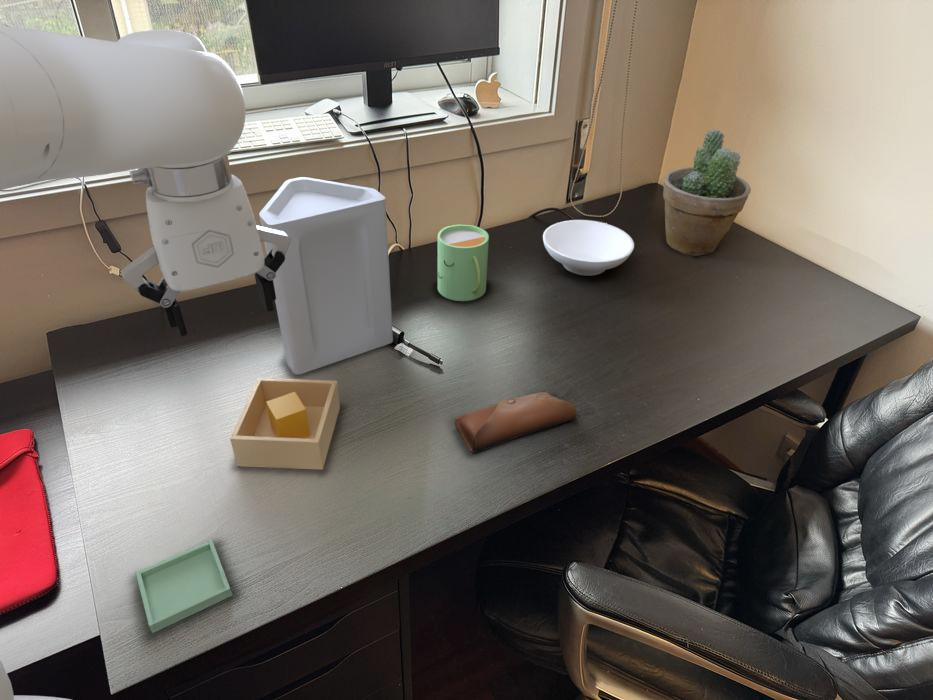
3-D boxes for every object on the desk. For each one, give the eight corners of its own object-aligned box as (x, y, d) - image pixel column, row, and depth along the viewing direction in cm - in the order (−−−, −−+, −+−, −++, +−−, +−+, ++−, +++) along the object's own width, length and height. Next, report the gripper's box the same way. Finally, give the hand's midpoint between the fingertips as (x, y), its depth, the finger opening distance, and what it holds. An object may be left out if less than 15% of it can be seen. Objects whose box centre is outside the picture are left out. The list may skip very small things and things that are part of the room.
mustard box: (281, 446, 94) (276, 419, 91) (271, 428, 97) (265, 401, 94) (310, 435, 96) (306, 409, 93) (299, 418, 99) (295, 391, 96)
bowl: (523, 256, 144) (525, 228, 140) (593, 240, 152) (597, 213, 147) (572, 298, 130) (576, 269, 126) (647, 278, 138) (653, 250, 134)
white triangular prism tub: (359, 303, 127) (347, 167, 110) (394, 341, 117) (387, 198, 100) (265, 332, 118) (237, 189, 101) (295, 376, 108) (268, 225, 91)
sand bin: (322, 470, 92) (318, 442, 88) (237, 466, 92) (229, 438, 89) (340, 407, 102) (336, 380, 99) (263, 404, 103) (257, 377, 99)
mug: (428, 282, 134) (427, 230, 127) (472, 271, 138) (474, 220, 131) (454, 312, 125) (455, 258, 118) (500, 300, 129) (504, 247, 122)
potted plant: (746, 260, 146) (782, 153, 131) (673, 267, 142) (701, 158, 127) (705, 224, 160) (733, 124, 145) (637, 230, 156) (658, 128, 141)
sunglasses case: (547, 388, 107) (562, 374, 101) (564, 427, 105) (581, 414, 99) (450, 419, 100) (460, 405, 94) (466, 461, 98) (478, 449, 92)
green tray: (152, 633, 72) (148, 626, 71) (138, 579, 77) (135, 572, 76) (232, 595, 76) (230, 588, 75) (214, 546, 81) (212, 539, 80)
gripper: (98, 205, 56) (151, 359, 66) (289, 169, 63) (309, 312, 74) (86, 175, 61) (137, 323, 71) (264, 146, 68) (287, 283, 79)
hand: (225, 317), depth 72 cm, fingers open, 9 cm apart
